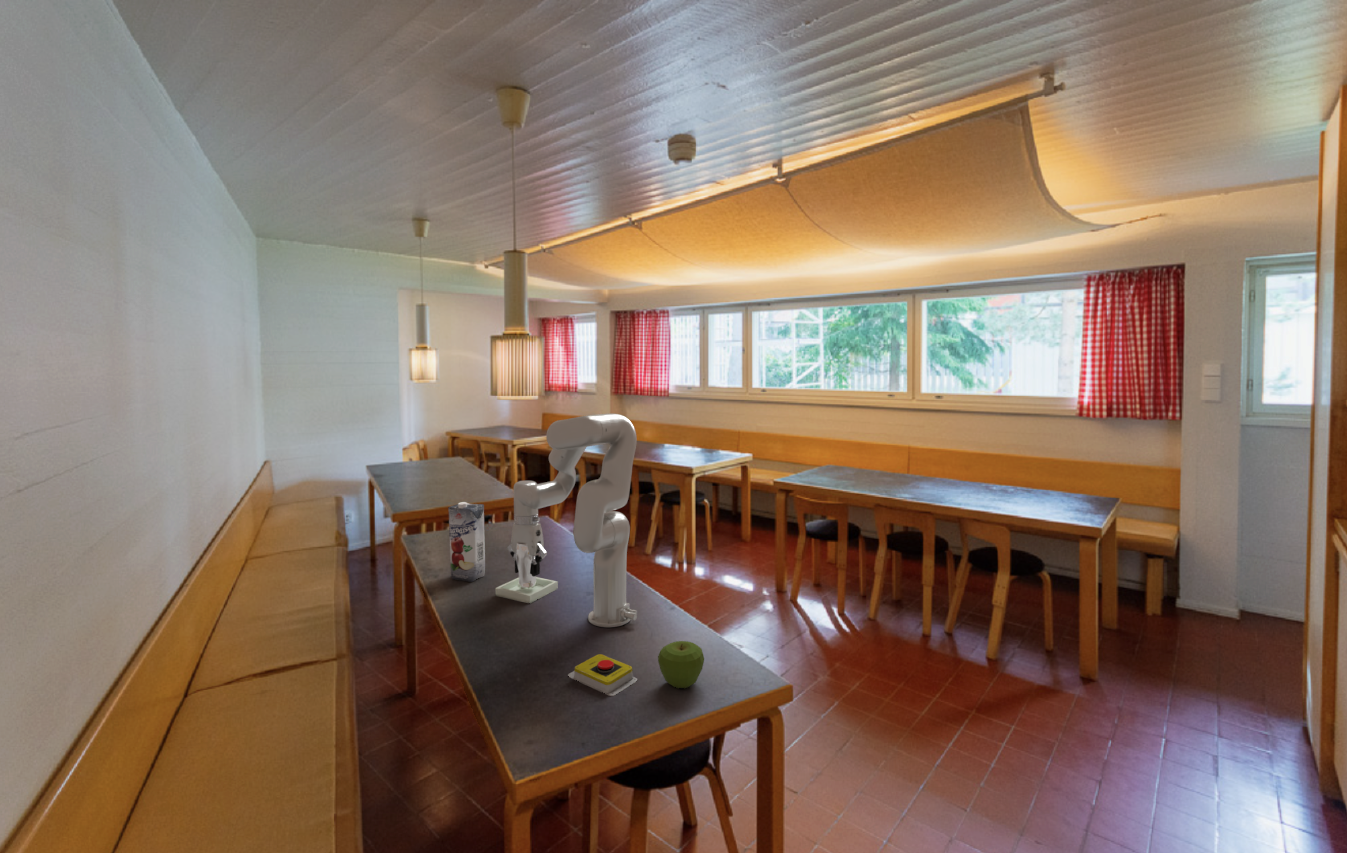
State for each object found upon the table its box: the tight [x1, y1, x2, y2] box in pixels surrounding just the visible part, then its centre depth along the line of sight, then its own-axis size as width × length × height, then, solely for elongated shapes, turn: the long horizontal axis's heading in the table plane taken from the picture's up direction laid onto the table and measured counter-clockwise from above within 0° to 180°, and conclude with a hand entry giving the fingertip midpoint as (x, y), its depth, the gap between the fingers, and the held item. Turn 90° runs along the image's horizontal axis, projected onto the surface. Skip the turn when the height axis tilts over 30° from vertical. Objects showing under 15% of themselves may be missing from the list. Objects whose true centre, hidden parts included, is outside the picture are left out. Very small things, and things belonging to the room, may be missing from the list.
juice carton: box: [448, 501, 486, 583], centre depth 203 cm, size 9×10×27 cm
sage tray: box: [495, 576, 559, 604], centre depth 191 cm, size 14×14×2 cm
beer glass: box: [516, 542, 537, 590], centre depth 190 cm, size 7×7×15 cm
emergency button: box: [567, 653, 638, 697], centre depth 139 cm, size 9×4×15 cm
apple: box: [657, 640, 705, 689], centre depth 136 cm, size 11×10×10 cm
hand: (527, 573), depth 191 cm, fingers closed on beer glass, 6 cm apart
